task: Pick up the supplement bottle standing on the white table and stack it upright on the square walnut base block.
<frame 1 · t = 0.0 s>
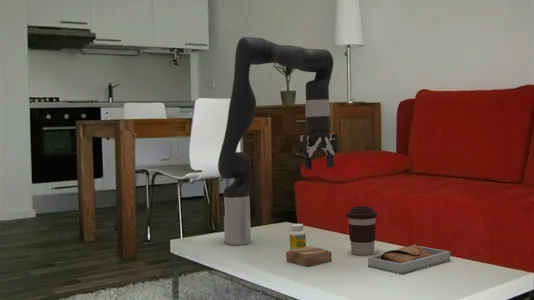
hand: (319, 168, 183), 29 cm above the table, tool pointing down, fingers open, 8 cm apart
walnut base: (308, 261, 187), on the table
supplement bottle: (298, 254, 199), on the table
coffee cup: (362, 253, 196), on the table
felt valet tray: (409, 263, 180), on the table
brown elongated piece: (409, 262, 180), resting on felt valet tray
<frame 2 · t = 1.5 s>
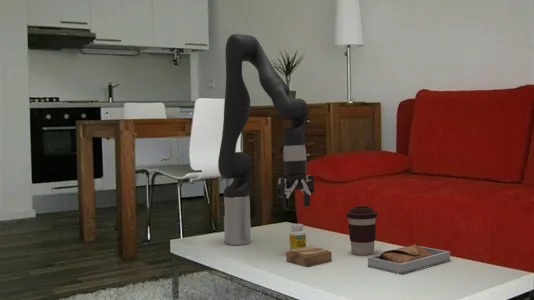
hand: (296, 208, 198), 15 cm above the table, tool pointing down, fingers open, 8 cm apart
nothing on the table moved.
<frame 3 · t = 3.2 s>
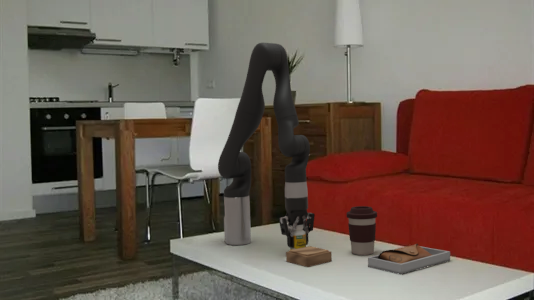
hand: (298, 245, 199), 3 cm above the table, tool pointing down, fingers closed on supplement bottle, 5 cm apart
supplement bottle: (298, 253, 199), on the table, touching gripper
everything else where it was.
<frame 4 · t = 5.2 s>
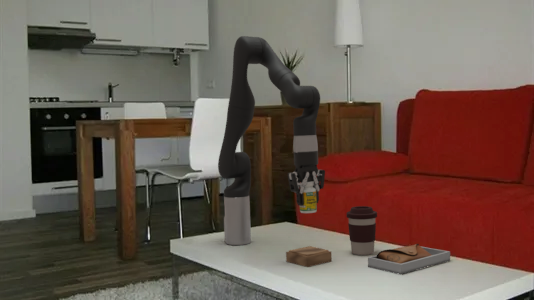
hand: (307, 204, 187), 18 cm above the table, tool pointing down, fingers closed on supplement bottle, 5 cm apart
supplement bottle: (308, 212, 187), point 15 cm above the table, touching gripper
everything else where it was.
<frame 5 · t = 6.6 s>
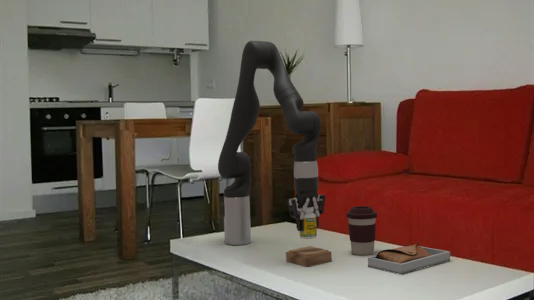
hand: (307, 229, 187), 10 cm above the table, tool pointing down, fingers closed on supplement bottle, 5 cm apart
supplement bottle: (308, 238, 187), point 7 cm above the table, touching gripper
when the fingers open (7 cm above the table, at t = 7.7 s): supplement bottle stays where it is, resting on walnut base.
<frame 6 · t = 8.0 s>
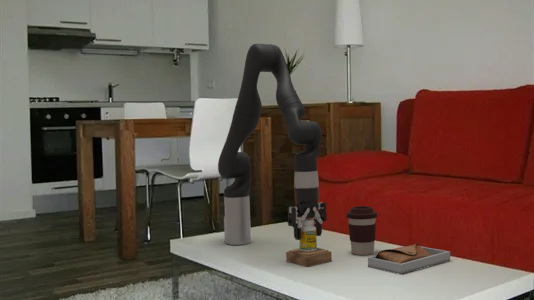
hand: (308, 237, 187), 7 cm above the table, tool pointing down, fingers open, 8 cm apart
supplement bottle: (308, 250, 187), point 3 cm above the table, touching walnut base
everything else where it was.
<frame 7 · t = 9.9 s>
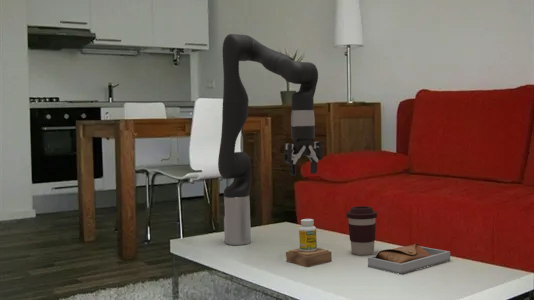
hand: (303, 174, 194), 27 cm above the table, tool pointing down, fingers open, 8 cm apart
nothing on the table moved.
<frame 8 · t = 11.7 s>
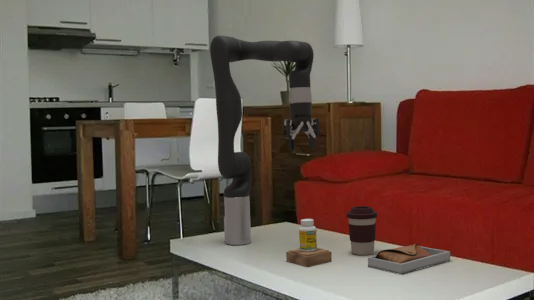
hand: (302, 150, 201), 34 cm above the table, tool pointing down, fingers open, 8 cm apart
nothing on the table moved.
at the end: supplement bottle inside the target area on the walnut base (0.1 cm from its centre), point 3.3 cm above the walnut base's base; supplement bottle tilted 0°; the gripper is holding nothing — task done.
